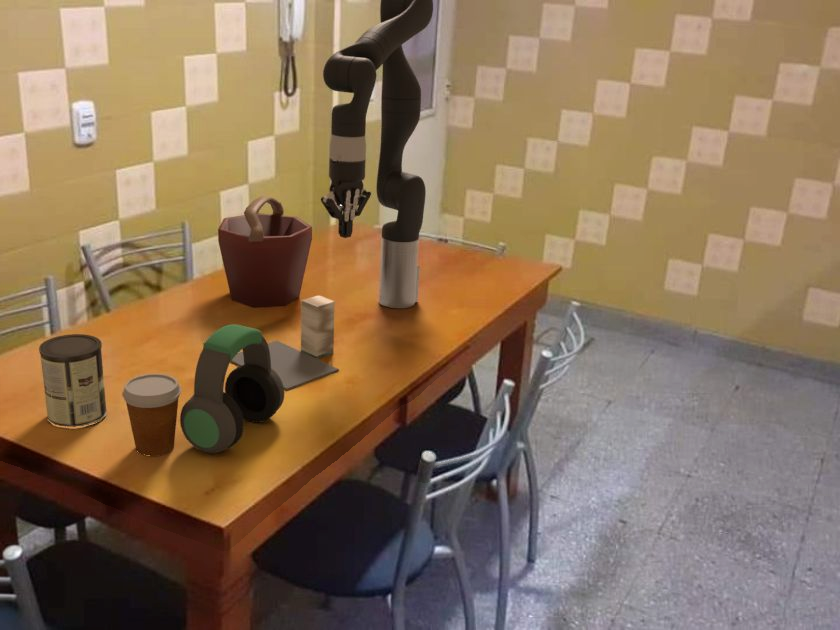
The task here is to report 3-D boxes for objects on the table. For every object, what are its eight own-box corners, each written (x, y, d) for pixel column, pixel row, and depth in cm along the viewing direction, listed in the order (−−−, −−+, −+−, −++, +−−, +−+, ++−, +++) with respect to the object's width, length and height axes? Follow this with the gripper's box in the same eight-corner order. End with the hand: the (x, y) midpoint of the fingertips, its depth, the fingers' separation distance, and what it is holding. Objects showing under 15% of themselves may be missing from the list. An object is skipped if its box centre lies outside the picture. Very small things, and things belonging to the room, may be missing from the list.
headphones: (229, 465, 149) (226, 356, 142) (175, 449, 153) (170, 342, 146) (289, 418, 166) (289, 318, 159) (239, 405, 170) (237, 307, 162)
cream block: (318, 345, 198) (318, 295, 194) (333, 352, 195) (334, 301, 191) (300, 351, 194) (301, 300, 190) (316, 359, 191) (317, 306, 187)
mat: (276, 342, 199) (276, 340, 198) (338, 370, 186) (338, 368, 186) (225, 358, 189) (225, 357, 189) (286, 390, 177) (286, 388, 176)
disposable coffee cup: (153, 467, 147) (149, 402, 143) (114, 449, 152) (109, 386, 148) (195, 444, 155) (193, 382, 151) (156, 428, 159) (153, 367, 155)
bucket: (275, 319, 211) (275, 217, 202) (196, 303, 218) (193, 203, 209) (324, 289, 232) (325, 195, 223) (250, 275, 239) (249, 183, 230)
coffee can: (72, 398, 168) (66, 329, 163) (118, 409, 165) (113, 339, 160) (33, 422, 159) (25, 350, 154) (81, 434, 156) (75, 361, 151)
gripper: (357, 150, 192) (355, 227, 198) (311, 156, 182) (310, 238, 189) (382, 156, 187) (379, 235, 193) (336, 163, 178) (334, 246, 184)
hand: (345, 236), depth 191 cm, fingers closed
